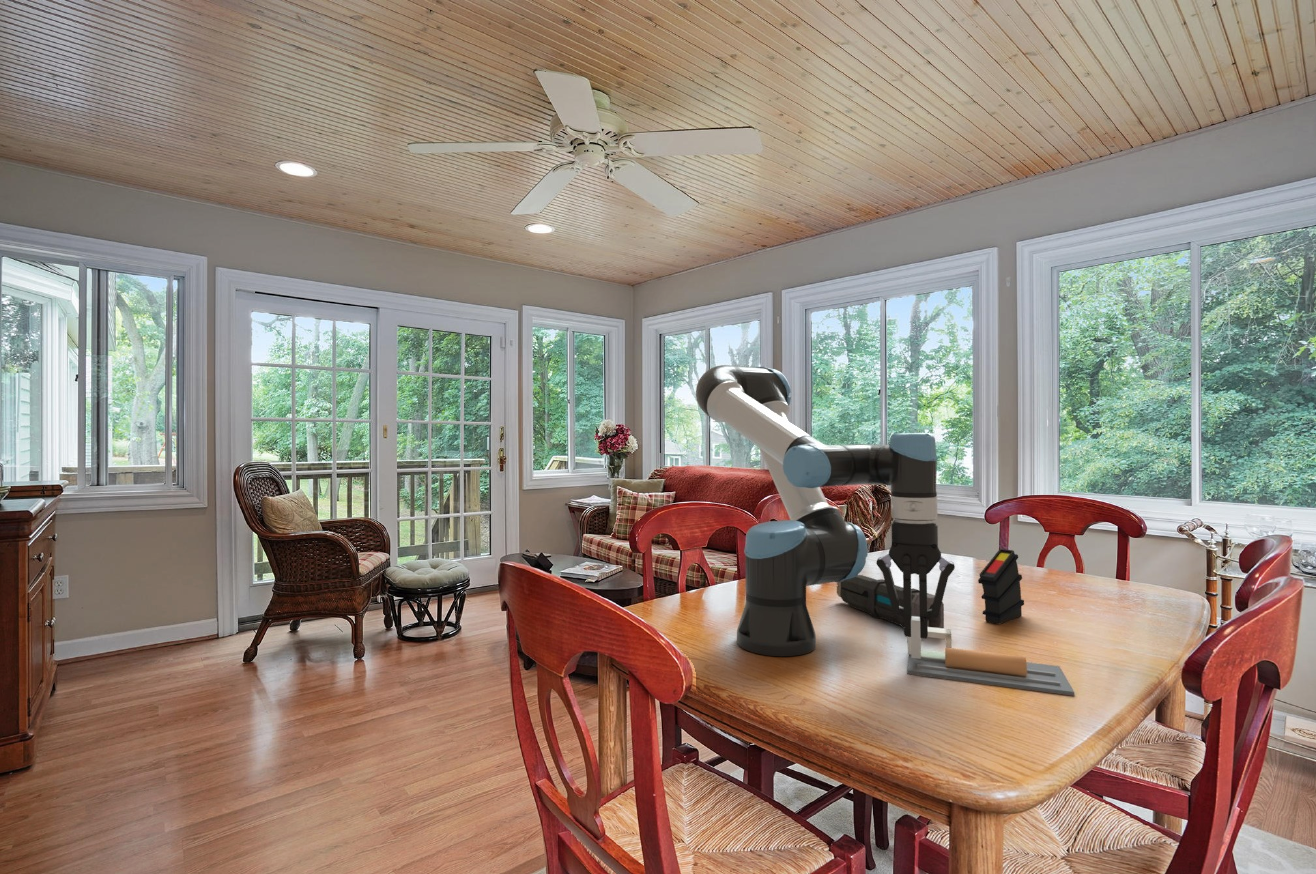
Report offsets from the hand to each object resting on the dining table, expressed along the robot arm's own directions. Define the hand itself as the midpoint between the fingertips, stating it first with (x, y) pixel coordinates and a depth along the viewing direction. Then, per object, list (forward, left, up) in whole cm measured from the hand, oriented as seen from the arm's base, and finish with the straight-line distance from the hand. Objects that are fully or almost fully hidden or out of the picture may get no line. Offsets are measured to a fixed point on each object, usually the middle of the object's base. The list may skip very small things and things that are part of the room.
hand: (916, 655), depth 110 cm
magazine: (+17, +38, -2) cm, 41 cm away
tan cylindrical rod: (+11, 0, -1) cm, 11 cm away
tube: (-7, +30, -2) cm, 31 cm away
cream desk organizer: (+2, +6, -1) cm, 6 cm away
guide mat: (+11, +2, -2) cm, 11 cm away
